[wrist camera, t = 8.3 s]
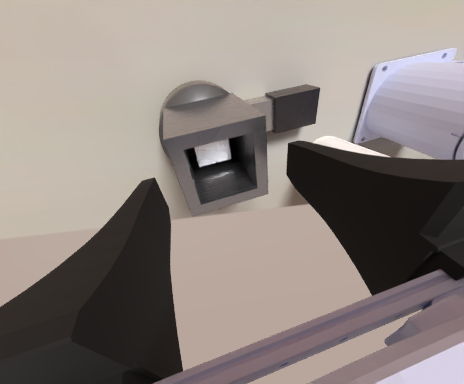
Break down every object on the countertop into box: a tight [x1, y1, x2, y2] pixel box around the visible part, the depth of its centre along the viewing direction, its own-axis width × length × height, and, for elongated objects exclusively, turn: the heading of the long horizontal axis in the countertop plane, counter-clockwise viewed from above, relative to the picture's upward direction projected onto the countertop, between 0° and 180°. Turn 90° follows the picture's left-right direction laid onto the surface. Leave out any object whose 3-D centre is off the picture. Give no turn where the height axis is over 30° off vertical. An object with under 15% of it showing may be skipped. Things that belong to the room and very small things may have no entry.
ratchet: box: [159, 81, 320, 167], centre depth 16 cm, size 14×7×5 cm, turn 98°
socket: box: [163, 93, 268, 217], centre depth 13 cm, size 5×5×6 cm
